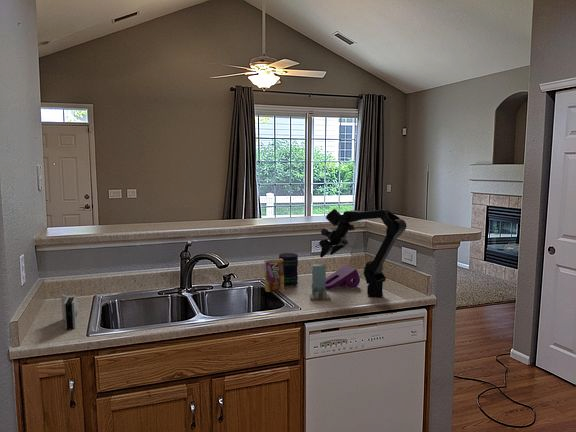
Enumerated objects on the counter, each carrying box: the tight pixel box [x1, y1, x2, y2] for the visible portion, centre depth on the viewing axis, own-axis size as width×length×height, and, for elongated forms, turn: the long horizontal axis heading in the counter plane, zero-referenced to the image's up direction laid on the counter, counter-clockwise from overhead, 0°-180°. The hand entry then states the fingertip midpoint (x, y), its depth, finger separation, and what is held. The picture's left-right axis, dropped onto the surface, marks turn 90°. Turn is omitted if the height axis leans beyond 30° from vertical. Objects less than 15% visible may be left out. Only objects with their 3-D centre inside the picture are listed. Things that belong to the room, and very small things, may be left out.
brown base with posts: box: [309, 288, 332, 302], centre depth 202 cm, size 9×6×4 cm
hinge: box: [60, 294, 79, 331], centre depth 169 cm, size 14×5×10 cm, turn 31°
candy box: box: [264, 258, 285, 293], centre depth 213 cm, size 9×4×15 cm, turn 104°
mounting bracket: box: [326, 264, 361, 291], centre depth 221 cm, size 10×8×18 cm
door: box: [311, 263, 327, 294], centre depth 208 cm, size 6×3×14 cm, turn 92°
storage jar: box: [278, 252, 299, 287], centre depth 226 cm, size 10×10×15 cm
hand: (325, 255), depth 223 cm, fingers open, 9 cm apart
